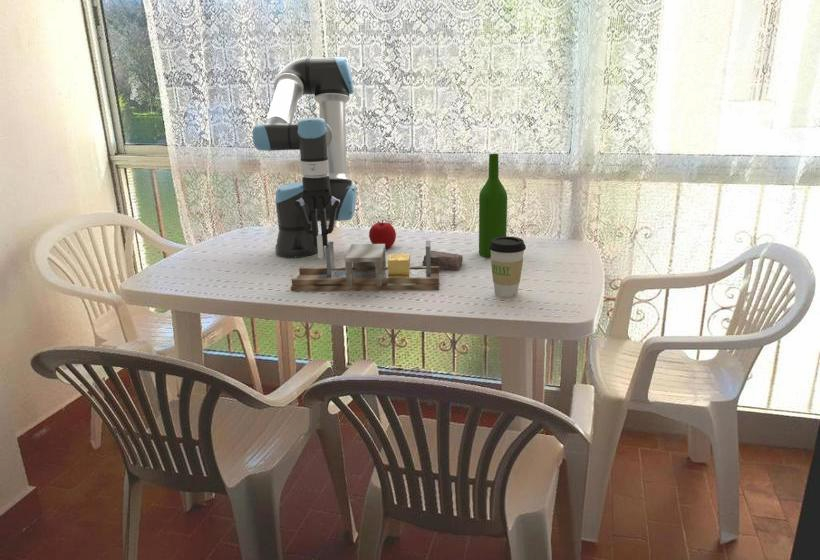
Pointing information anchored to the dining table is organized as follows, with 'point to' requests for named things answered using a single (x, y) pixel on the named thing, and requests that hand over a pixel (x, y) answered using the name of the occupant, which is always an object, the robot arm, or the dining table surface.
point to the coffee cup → (506, 264)
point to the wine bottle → (492, 209)
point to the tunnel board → (363, 260)
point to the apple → (382, 234)
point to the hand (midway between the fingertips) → (321, 256)
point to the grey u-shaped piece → (396, 269)
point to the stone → (445, 260)
